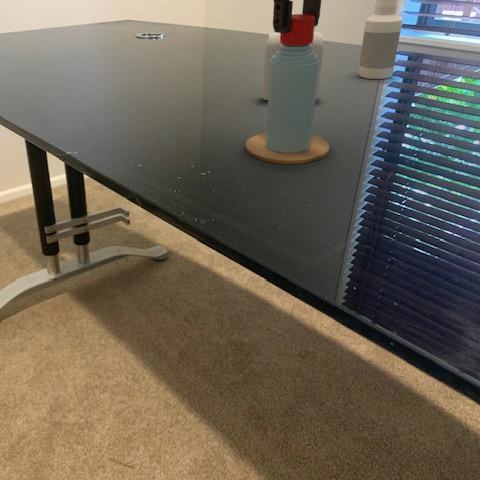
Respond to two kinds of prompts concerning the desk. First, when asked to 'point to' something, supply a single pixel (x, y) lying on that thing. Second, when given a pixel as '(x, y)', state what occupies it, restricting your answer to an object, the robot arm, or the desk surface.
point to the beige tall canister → (380, 41)
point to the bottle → (291, 98)
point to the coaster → (261, 152)
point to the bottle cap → (299, 30)
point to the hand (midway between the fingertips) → (295, 28)
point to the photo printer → (274, 46)
